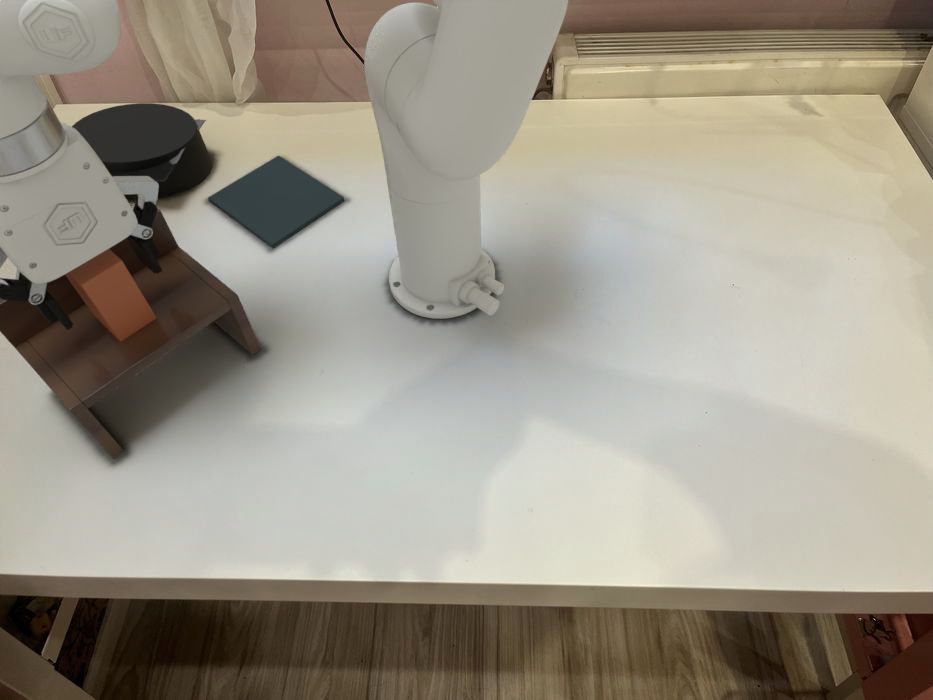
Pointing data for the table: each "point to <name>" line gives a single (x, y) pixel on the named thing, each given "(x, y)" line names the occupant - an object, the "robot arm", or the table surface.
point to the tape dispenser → (149, 145)
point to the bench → (113, 362)
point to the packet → (112, 294)
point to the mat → (276, 200)
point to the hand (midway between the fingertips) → (108, 292)
